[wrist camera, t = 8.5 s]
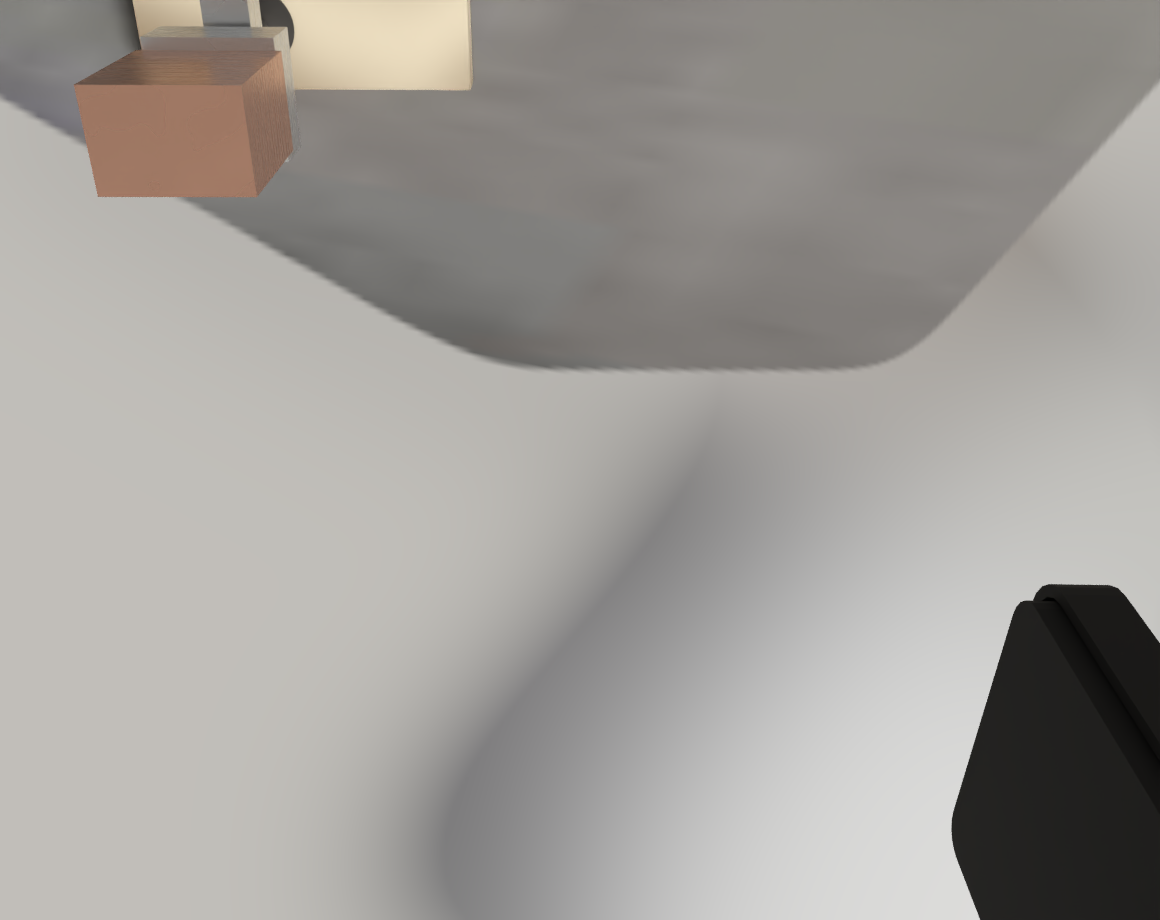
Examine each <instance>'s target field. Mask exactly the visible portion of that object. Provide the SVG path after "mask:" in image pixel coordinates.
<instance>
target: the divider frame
mask: <svg viewBox="0 0 1160 920" xmlns="http://www.w3.org/2000/svg"><path fill="white" fill-rule="evenodd" d="M200 7H201V13H202V20H203V26H210V27H262V20H261V13H260V5H259V0H200Z"/></svg>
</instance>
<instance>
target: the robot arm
mask: <svg viewBox="0 0 1160 920" xmlns="http://www.w3.org/2000/svg"><path fill="white" fill-rule="evenodd" d="M952 841H953V846H954V851H955V854H956V857H957V860H958V863H959V866H960V868H961V871H962V873H963V876H964V879H965V881H966V884H967V886H968V889H969V891H970V894H971V897H972V899H973V902H974V905H975V907H976V910H977V912H978V915H979V918H980V920H1160V643H1159V641H1158V640H1157V639H1156V637H1155V636H1154V635H1153V633H1152V632H1151V630H1150V629H1149V628H1148V626H1147V625H1146V624H1145V622H1144V621H1143V619H1142V618H1141V617H1140V615H1139V614H1138V613H1137V611H1136V610H1135V608H1134V607H1133V606H1132V604H1131V603H1130V602H1129V600H1128V599H1127V597H1126V596H1125V595H1124V594H1123V593H1122V592H1121V591H1120V590H1119V589H1118V588H1116V587H1113V586H1110V585H1062V584H1061V585H1060V584H1059V585H1057V584H1049V585H1046V586H1042V587H1041V589H1040V590H1039V591H1038V592H1037V593H1036V595H1035V597H1034V599H1033V601H1023V602H1020V604H1019V605H1018V606H1017V607H1016V609H1015V611H1014V614H1013V617H1012V620H1011V623H1010V627H1009V630H1008V633H1007V636H1006V640H1005V643H1004V646H1003V650H1002V653H1001V656H1000V660H999V663H998V666H997V670H996V673H995V676H994V679H993V683H992V686H991V689H990V693H989V696H988V699H987V702H986V706H985V709H984V712H983V716H982V719H981V722H980V726H979V729H978V732H977V736H976V739H975V742H974V745H973V749H972V752H971V755H970V759H969V762H968V765H967V768H966V772H965V775H964V778H963V782H962V785H961V789H960V792H959V795H958V798H957V802H956V805H955V808H954V812H953V817H952Z"/></svg>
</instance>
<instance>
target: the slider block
mask: <svg viewBox="0 0 1160 920" xmlns="http://www.w3.org/2000/svg"><path fill="white" fill-rule="evenodd" d="M261 20H262V19H261ZM140 41H141V46H142V50H135V51H133V52H132V53H130V54H128V55H126V56H125V57H123V58H121V59H119V60H117V61H116V62H114V63H112V64H110V65H108V66H107V67H105V68H103V69H101V70H99V71H98V72H96V73H94V74H92V75H90V76H89V77H87V78H85V79H83V80H82V81H80V82H78V83H76V84H74V87H75V92H76V97H77V101H78V106H79V111H80V115H81V120H82V124H83V129H84V134H85V138H86V143H87V148H88V152H89V157H90V161H91V166H92V171H93V175H94V180H95V185H96V189H97V194H98V197H257V196H258V195H259V194H260V192H261V191H262V190H263V188H264V187H265V186H266V185H267V183H268V182H269V181H270V179H271V178H272V177H273V176H274V174H275V173H276V172H277V171H278V169H279V168H280V167H281V165H282V164H283V163H284V162H289V161H290V160H291V159H292V157H293V156H294V155H295V153H296V152H297V151H298V149H299V148H300V147H301V140H300V131H299V123H298V114H297V106H296V97H295V89H294V80H293V72H292V63H291V55H290V46H289V38H288V30H287V27H267V25H266V23H265V22H264V21H263V20H262V27H210V26H160V27H158V28H156V29H154V30H152V31H150V32H148V33H147V34H145V35H143V36H141V37H140Z"/></svg>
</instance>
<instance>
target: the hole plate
mask: <svg viewBox="0 0 1160 920" xmlns="http://www.w3.org/2000/svg"><path fill="white" fill-rule="evenodd" d="M259 5H260V13H261V19H262V20H263V21H264V22H265V23H266V25H267V27H287V30H288V38H289V46H290V55H291V63H292V72H293V80H294V89H345V90H471V86H472V83H473V66H472V40H471V14H470V0H259ZM133 6H134V11H135V17H136V22H137V28H138V33H139V39H140V37H141V36H143V35H145V34H147V33H148V32H150V31H152V30H154V29H156V28H158V27H160V26H203V20H202V13H201V7H200V0H133ZM140 44H141V41H140ZM141 50H142V46H141Z"/></svg>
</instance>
